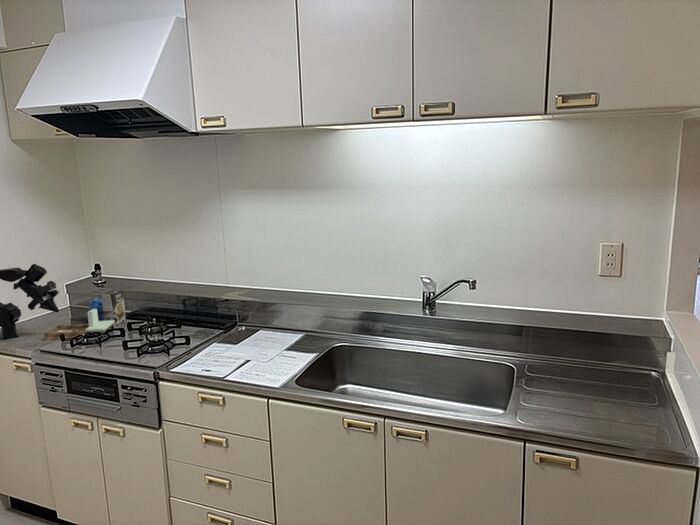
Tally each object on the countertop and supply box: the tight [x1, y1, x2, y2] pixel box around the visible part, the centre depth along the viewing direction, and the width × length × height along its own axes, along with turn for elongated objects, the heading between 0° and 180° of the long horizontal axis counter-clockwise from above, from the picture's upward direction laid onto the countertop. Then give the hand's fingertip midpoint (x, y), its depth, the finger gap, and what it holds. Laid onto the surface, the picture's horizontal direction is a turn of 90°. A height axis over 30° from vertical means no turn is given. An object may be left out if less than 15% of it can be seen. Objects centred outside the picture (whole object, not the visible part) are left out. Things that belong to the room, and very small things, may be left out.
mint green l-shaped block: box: [85, 309, 115, 331], centre depth 241 cm, size 8×14×8 cm, turn 5°
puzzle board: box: [43, 323, 116, 341], centre depth 241 cm, size 26×16×3 cm, turn 95°
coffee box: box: [101, 289, 126, 326], centre depth 258 cm, size 9×6×16 cm
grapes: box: [88, 296, 104, 321], centre depth 263 cm, size 12×7×12 cm, turn 80°
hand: (58, 311), depth 239 cm, fingers closed
